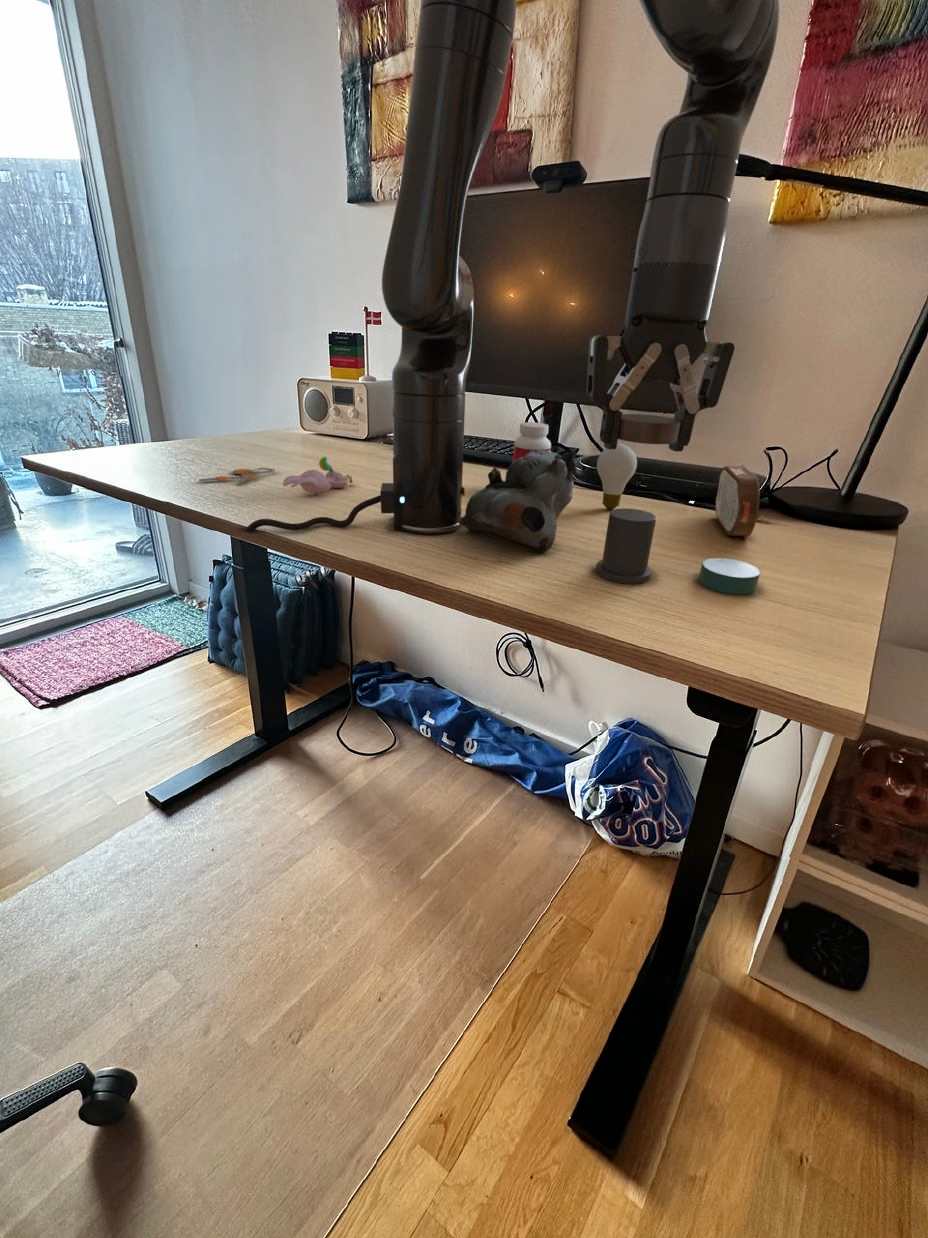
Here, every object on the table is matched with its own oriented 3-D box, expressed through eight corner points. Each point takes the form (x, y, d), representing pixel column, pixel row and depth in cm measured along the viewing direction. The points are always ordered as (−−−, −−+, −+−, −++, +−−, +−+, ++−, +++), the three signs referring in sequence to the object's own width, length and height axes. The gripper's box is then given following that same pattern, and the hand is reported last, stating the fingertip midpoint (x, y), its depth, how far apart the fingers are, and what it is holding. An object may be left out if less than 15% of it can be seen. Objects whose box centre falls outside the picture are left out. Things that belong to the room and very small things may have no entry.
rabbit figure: (330, 490, 101) (270, 494, 88) (331, 454, 99) (270, 453, 86) (360, 495, 99) (304, 500, 86) (362, 458, 97) (305, 458, 84)
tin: (752, 545, 78) (768, 482, 74) (727, 542, 79) (742, 480, 75) (729, 514, 91) (742, 460, 88) (708, 513, 92) (720, 458, 88)
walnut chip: (624, 443, 57) (627, 421, 56) (604, 432, 63) (607, 412, 62) (687, 445, 57) (692, 424, 57) (662, 434, 63) (666, 415, 62)
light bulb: (587, 511, 90) (596, 445, 86) (594, 502, 95) (603, 439, 91) (626, 516, 88) (637, 449, 84) (631, 507, 93) (642, 443, 89)
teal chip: (713, 594, 62) (717, 577, 61) (689, 573, 68) (693, 557, 67) (766, 594, 63) (771, 577, 62) (738, 573, 68) (742, 557, 67)
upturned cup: (604, 584, 64) (614, 522, 61) (589, 563, 69) (597, 506, 66) (659, 584, 64) (671, 523, 61) (639, 564, 70) (649, 507, 67)
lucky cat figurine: (452, 523, 81) (494, 430, 80) (528, 559, 83) (571, 468, 82) (464, 524, 66) (515, 410, 65) (556, 567, 68) (608, 457, 67)
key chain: (249, 468, 108) (249, 463, 107) (281, 472, 105) (280, 468, 105) (195, 481, 97) (194, 476, 97) (229, 487, 95) (228, 482, 94)
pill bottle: (507, 486, 103) (511, 421, 98) (540, 486, 104) (546, 421, 99) (515, 495, 97) (521, 426, 92) (550, 495, 98) (558, 427, 93)
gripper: (731, 271, 57) (693, 445, 65) (588, 261, 56) (566, 440, 63) (773, 263, 50) (725, 458, 58) (612, 252, 49) (584, 453, 57)
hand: (642, 448), depth 61 cm, fingers closed on walnut chip, 6 cm apart
